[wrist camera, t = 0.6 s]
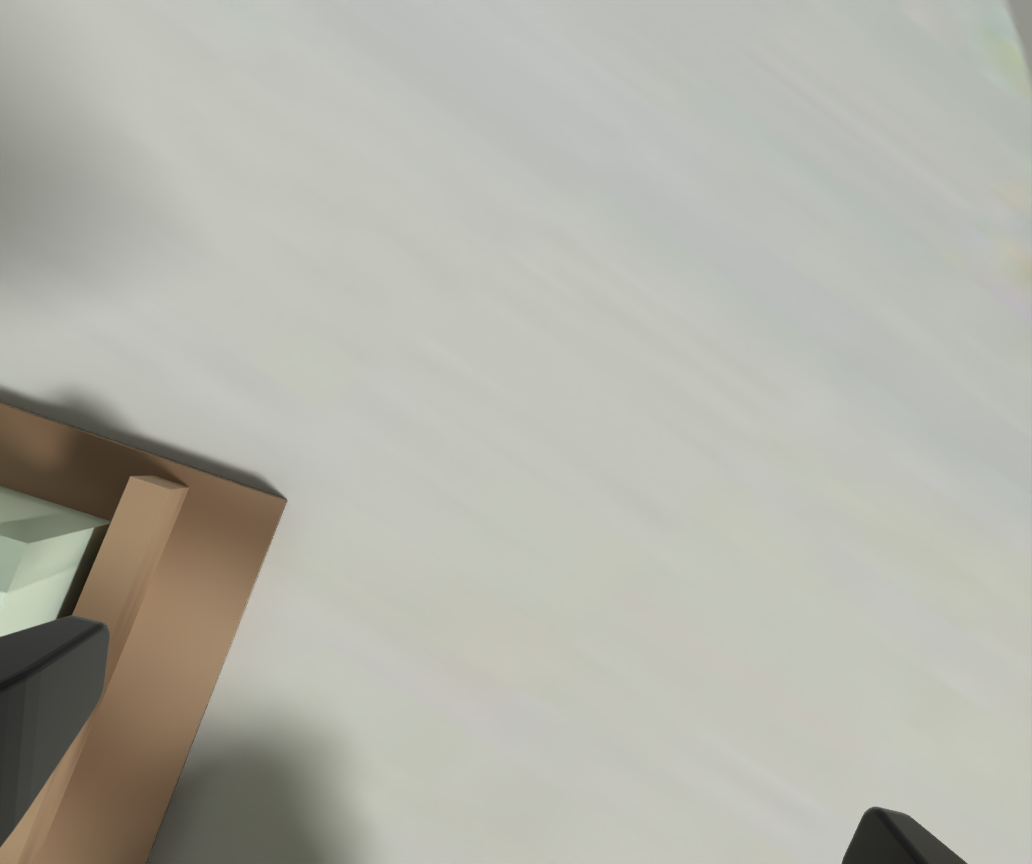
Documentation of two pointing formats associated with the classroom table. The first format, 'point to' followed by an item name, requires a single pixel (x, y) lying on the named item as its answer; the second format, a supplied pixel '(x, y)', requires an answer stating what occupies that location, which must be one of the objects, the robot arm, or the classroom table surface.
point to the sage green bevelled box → (43, 559)
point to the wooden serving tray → (136, 627)
